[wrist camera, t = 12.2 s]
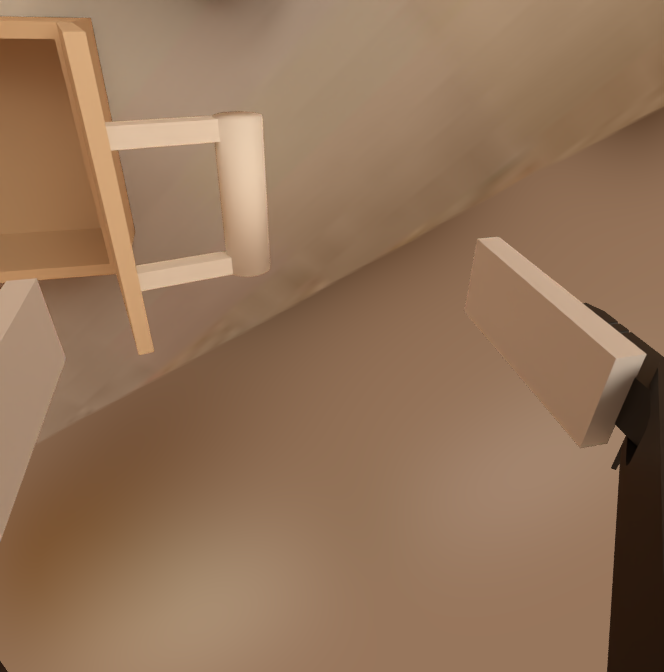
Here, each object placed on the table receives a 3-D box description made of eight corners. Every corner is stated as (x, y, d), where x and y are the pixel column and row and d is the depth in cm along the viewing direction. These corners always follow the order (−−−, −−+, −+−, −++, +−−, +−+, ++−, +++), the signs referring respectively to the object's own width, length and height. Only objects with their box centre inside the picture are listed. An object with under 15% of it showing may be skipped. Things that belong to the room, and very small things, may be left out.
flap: (62, 31, 19) (265, 32, 22) (55, 21, 26) (206, 23, 29) (139, 357, 27) (278, 324, 30) (117, 278, 35) (230, 258, 38)
